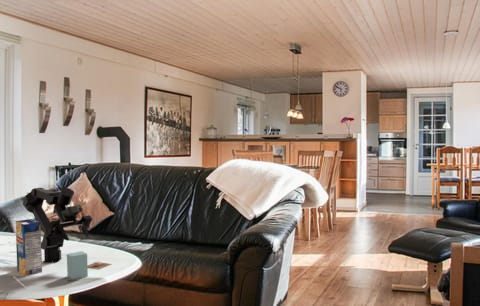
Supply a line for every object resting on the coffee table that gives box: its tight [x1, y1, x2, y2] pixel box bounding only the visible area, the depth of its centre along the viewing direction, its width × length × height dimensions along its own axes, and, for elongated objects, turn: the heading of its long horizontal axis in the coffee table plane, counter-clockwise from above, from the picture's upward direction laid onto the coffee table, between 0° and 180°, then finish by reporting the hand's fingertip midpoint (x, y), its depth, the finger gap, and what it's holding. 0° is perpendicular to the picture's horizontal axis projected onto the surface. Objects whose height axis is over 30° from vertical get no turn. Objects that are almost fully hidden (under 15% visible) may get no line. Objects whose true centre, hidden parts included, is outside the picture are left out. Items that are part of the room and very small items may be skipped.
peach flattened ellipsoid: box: [93, 261, 102, 267], centre depth 216 cm, size 3×3×1 cm
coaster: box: [87, 262, 113, 270], centre depth 216 cm, size 9×9×1 cm
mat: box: [67, 279, 79, 283], centre depth 201 cm, size 10×10×1 cm
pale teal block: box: [66, 250, 89, 280], centre depth 201 cm, size 6×6×10 cm
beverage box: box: [15, 218, 43, 276], centre depth 209 cm, size 7×11×22 cm, turn 42°
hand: (78, 238), depth 209 cm, fingers open, 9 cm apart
